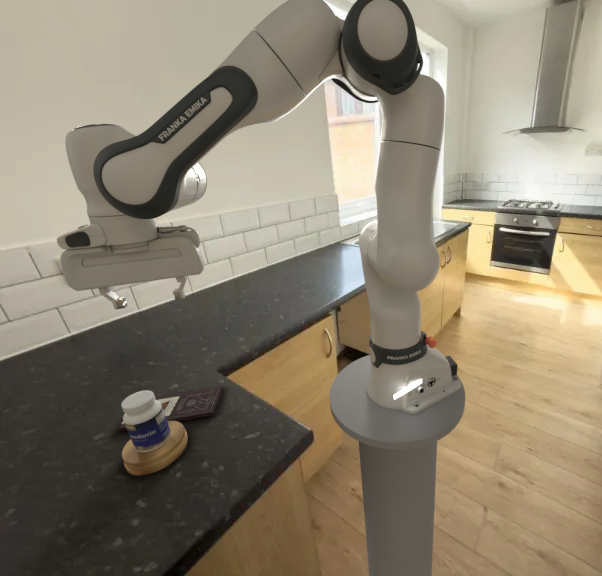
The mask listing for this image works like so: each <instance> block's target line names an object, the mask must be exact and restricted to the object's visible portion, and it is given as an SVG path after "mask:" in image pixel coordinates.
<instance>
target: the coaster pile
mask: <svg viewBox="0 0 602 576" xmlns="http://www.w3.org/2000/svg"><path fill="white" fill-rule="evenodd" d="M168 424H169V427H170V430H171V436H170V438H169V439H168V441H167V442H166V443H165V444H164V445H162V446H161V447H159V448H157V449H155V450H153V451H150V452H144V453H143V452H138V451H137V450H136V449H135V447H134V445H133V443H132V440H131V438H130V439H129V440H128V441H126V444H125V445H124V446H123V448H122V451H121V458H122V459H123V460H122V461H123V466H124V468H125V470H126V472H127V473H128V474H130V475H132V476H146V475H151V474H153V473H156V472H158V471H161V470H163V469H164V468H166V467H168V466H169V465H171V464H172V463H174V462H175V461H176V460H177V459H178V458H179V457H180V456H181V455H182V454H183V453H184V451H185V449H186V448H187V446H188V441H189V440H188V438H189V436H188V431H187V430H186V428H185V426H184V424H182V423H181V421H180V422H177V421H168Z"/></svg>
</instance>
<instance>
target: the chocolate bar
mask: <svg viewBox="0 0 602 576" xmlns="http://www.w3.org/2000/svg"><path fill="white" fill-rule="evenodd" d="M223 391H224V387H223V385H220V386H213V387H207V388H201V389H195V390H194V389H193V390H189V391H183V392H174V393H170V394H163V395H156V396H155V400H157V401H159V402H160V403H161V405H162V407H163V410H164V413H165V416H166V418H167V421H177V422H180V423H181V422H186V421H190V420H196V419H197V420H198V419H203V418H208V417H213V416H214V415H215V412H216V409H217V407H218V405H219V401H220V399H221V397H222V395H223ZM117 430H118V433H122V432H128V431H127V429H126V426H125V424H124V421H122V422H121V423H120V425H118V428H117Z"/></svg>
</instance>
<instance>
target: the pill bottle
mask: <svg viewBox="0 0 602 576" xmlns="http://www.w3.org/2000/svg"><path fill="white" fill-rule="evenodd" d="M155 397H156V396H155V393H154V392H153V391H152V390H147V389H146V390H140V391H137V392H134V393H132V394H130V395H128V396H127V397H125V398H124V400H122V402H121V404H120V406H121V409H122V411H123V412H124V414H123V416H122V420H123V421H124V424H125V426H126V429H127V431H126V432H127V433H128V436H129V438H130V439H131V440H132V443H133V445H134V447H135V449H136V450H137V451H138V452H143V453H144V452H150V451H153V450H155V449H157V448H159V447H161V446H162V445H164V444H165V443H166V442H167V441H168V439H169V438H170V436H171V430H170V427H169V424H168V421H167V418H166V416H165V413H164V410H163V407H162V405H161V403H160V402H159V401H157V400H155ZM123 421H122V422H123Z"/></svg>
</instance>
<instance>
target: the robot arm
mask: <svg viewBox="0 0 602 576" xmlns="http://www.w3.org/2000/svg"><path fill="white" fill-rule="evenodd" d="M423 66H424V58H423V55H422V52H421V47H420V45H419V40H418V35H417V29H416V24H415V20H414V18H413V15H412V12H411V10H410V8H409V6H408V5H407V4H406V3H405V1H404V0H356V1H355V2H354V3H353V5H351V7H350V8H349V10H348V12H347V14H346V16H345V19H342V18H340V17H339V16H338V15H336V14H335V12H334V11H333V10H332V8H331V7H330V6H329V5H328V3H327V2H326V1H324V0H286V1H285V2H283V3H282V4H280V5H278V6H277V7H276V8H275V9H274V10H272V11H271V12H270V13H269V14H267V15H266V16H265V17H264V18H263V19H262V20H261V21H260V22H259V23H258V24H257V25H256V26H255V27H254V28H253V29H252V30H250V32H249V33H248V34H247V35H246V36H245V37H244V38H243V39H242V40H241V42H239V44H237V46H236V47H235V48H234V49H233V50H232V51H231V52H230V53H229V55H228V56H227V57H225V59H224V60H223V61H222V62H221V63H220V64H219V65H218V66H217V67H216V68H215V69H214V70H212V72H210V74H209V75H208V76H207V77H206V78H204V79H203V80H202V81H201V82H199V83H198V84H197V85H196V86H195V87H194V88H192V89H191V90H190V91H189V92H187V93H186V95H184V96H183V97H182V98H181V99H180V100H178V101H177V102H176V103H175V104H174V105H173V106H172V107H171V108H169V110H167V111H166V112H165V113H164V114H163V115H162V116H161V117H160V118H158V119H157V120H156V121H155V122H154V123H153V124H152V125H151V126H149V127H148V128H147V129H146V130H143V132H141V133H140V134H138V135H136V134H135V133H132V132H130V131H129V130H127V129H126V128H124V127H123V126H121V125H117V124H113V123H98V124H97V123H96V124H94V123H93V124H85V125H81V126H77V127H75V128H72V129H71V130H70V131H68V132H67V134H66V135H65V151H66V156H67V160H68V164H69V167H70V170H71V174H72V176H73V179H74V182H75V184H76V187H77V189H78V191H79V192H80V194H82V196H83V198H84V199H85V203H86V214H87V217H88V220H89V224H88V223H87V224H83V225H81V226H78V227H77V228H75V229H73V230H70V231H68V232H65V233H63V234H60V236H58V237H57V238H56V243H57V245H58V247H59V248H60V249H62V250H64V251H62V253H61V254H60V257H59V258H60V260H59V261H60V266H61V270H62V274H63V277H64V279H65V282H66V284H67V287H68V288H71V289H72V290H74V291H76V292H81V291H88V290H95V289H96V290H97V289H98V291H99V294H100V295H101V296H103V297H104V298H106V299H107V300H108V301H110V302H111V303H112V306H113V308H114V310H121V309H126V308H127V307H128V302H127V301H126V296H119V295H118V294H116V293H115V292H114V291H113V289H115V288H114V287H118V286H123V285H124V286H125V285H132V284H138V283H140V284H141V283H147V282H154V281H161V280H168V279H169V280H170V279H175V281H176V283H177V284H178V283H180V284H179V286H178V288H174V289H173V291H172V294H173V296H174V300H176V301H178V300H184V299H185V298H186V293H185V290H184V288H185V285H186V282H187V281H188V277H189V276H190V277H191V276H197V275H201V274H202V273H203V271H204V270H205V267H206V265H205V260H204V257H203V255H202V252H201V249H200V245H201V240H200V235H199V233H198V231H197V230H196V229H195V228H193V227H190V226H188V225H185V224H181V225H175V226H173V225H172V226H171V225H169V226H159V225H158V222H157V218H159V217H162V216H163V215H165V214H167V213H169V212H172V211H176V210H178V209H181V208H184V207H187V206H190V205H192V204H195V203H196V202H197V201H200V199H201V198H202V197H203V196H204V195H205V193H206V191H207V187H208V179H207V178H208V177H207V174H206V171H205V169H204V167H203V166H202V164H201V162H200V161H201V160H202V159H203V158H205V156H207V155H208V154H209V153H210V152H211V151H212V150H214V148H216V146H217V145H218V144H220V143H221V142H222V141H223V140H224V139H225V138H227V137H228V136H230V135H231V134H233V133H235V132H236V131H239V130H241V129H243V128H246V127H250V126H255V125H262V124H272V123H275V122H277V121H279V120H280V119H282V118H283V117H285V116H287V115H289V114H291V112H293V111H294V110H295V109H297V108H298V107H299V106H300V105H301V104H302V103H303V102H304V101H305V100H306V99H307V98H308V97H309V96H310V95H311V94H312V93H313V92H314V91H315V90H316V89H317V88H318V87H319V86H320V85H321V84H323V83H324V82H326V81H328V80H330V79H331V81H332V82H333V83H334V84H335V85H337V86H338V87H339V88H341V90H344V91H345V92H346V93H347V94H349V95H350V96H351V97H352V98H354V99H356V100H357V101H359V102H361V103H364V104H376V103H378V105H379V106H380V111H381V116H382V117H381V118H382V119H381V121H382V123H381V124H382V126H381V132H380V139H379V147H378V153H377V154H378V155H377V162H376V164H377V165H376V170H375V180H374V186H373V187H374V195H375V199H376V215H377V216H376V217H377V219H376V220H373V221H370V222H369V223H367V224H366V225H365V226H364V227H363V228H362V229H361V231H360V233H359V236H358V248H359V253H360V260H361V265H362V273H363V280H364V285H365V290H366V295H367V301H368V309H369V310H368V311H369V328H370V329H369V331H370V333H369V337H368V344H369V345H368V353H369V354H368V355H369V356H370V360H371V370H370V376H369V381H368V384H367V394H368V396H369V398H370V399H371V400H372V401H373V402H374V403H376V404H378V405H379V406H382V407H385V408H388V409H395V410H401V411H403V412H405V413H408V414H411V415H415V414H418V413H419V412H421V411H423V410H425V409H426V408H428V407H430V406H432V405H434V404H435V403H437V402H439V401H441V400H442V399H444V398H446V397H448V396H450V395H451V394H453V393H455V392H457V391H458V390H460V389H461V382H462V381H461V382H460V380H461V378H460V377H459V375H458V364H457V362H456V361H455V360H454V359H453V358H452V356H451V355H444V354H443V352H441V351H440V350H439V349H438V348H436V346H437V344H438V343H437V340H436V339H434V338H433V337H432V336H428V335H427V333H426V332H425V331H423V330H422V303H421V299H420V297H419V294H418V292H420V291H423V290H424V289H426V288H428V287H429V286H430V285H431V284H433V282H434V281H435V280H436V278H437V277H438V274H439V271H440V268H441V258H440V254H439V250H438V249H437V246H436V242H435V232H434V191H435V185H436V180H437V173H438V169H439V162H440V155H441V151H442V145H443V135H444V128H445V127H444V126H445V113H446V112H445V110H446V109H445V107H446V104H445V103H446V99H445V97H446V96H445V90H444V89H443V87H442V85H441V84H440V83H439V82H438V81H437V80H436V79H434V78H433V77H431V76H428V75H426V74H422V69H423ZM459 378H460V379H459Z"/></svg>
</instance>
